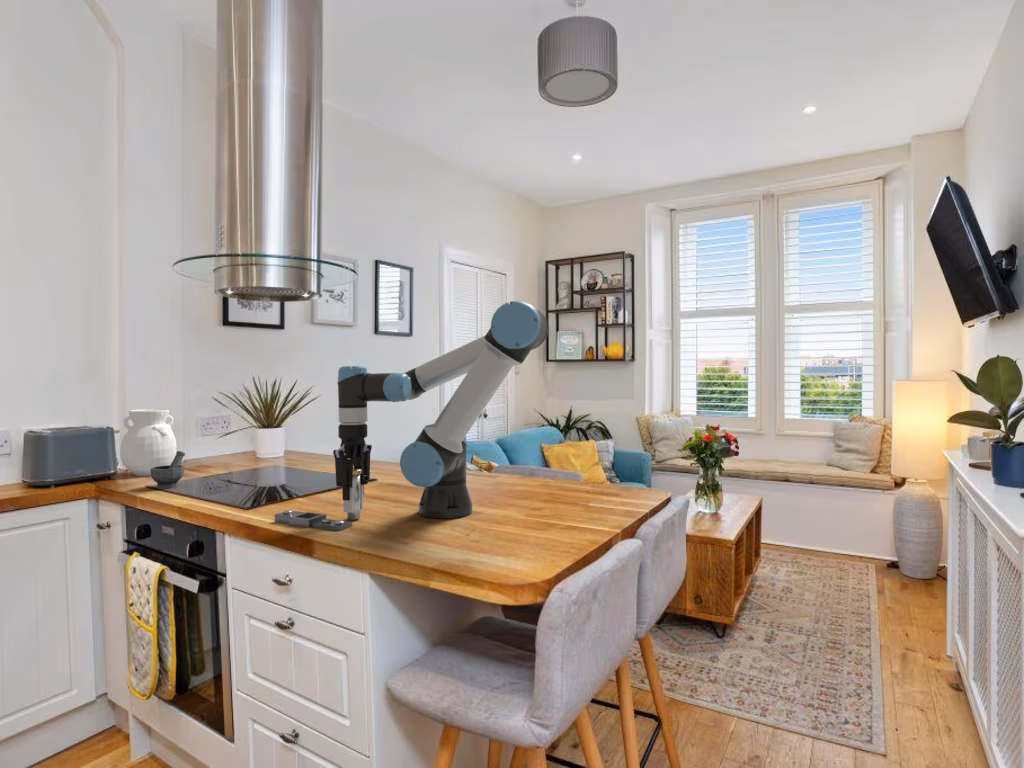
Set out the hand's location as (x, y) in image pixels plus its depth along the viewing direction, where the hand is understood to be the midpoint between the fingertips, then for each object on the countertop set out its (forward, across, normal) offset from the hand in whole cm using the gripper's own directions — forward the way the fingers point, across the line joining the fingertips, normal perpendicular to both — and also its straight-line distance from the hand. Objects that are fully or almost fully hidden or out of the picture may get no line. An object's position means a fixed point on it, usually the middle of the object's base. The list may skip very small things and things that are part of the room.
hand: (353, 510), depth 152 cm
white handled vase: (+2, -24, -117) cm, 120 cm away
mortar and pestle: (+2, -10, -86) cm, 87 cm away
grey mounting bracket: (+3, +8, -7) cm, 11 cm away
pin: (+2, 0, 0) cm, 2 cm away
